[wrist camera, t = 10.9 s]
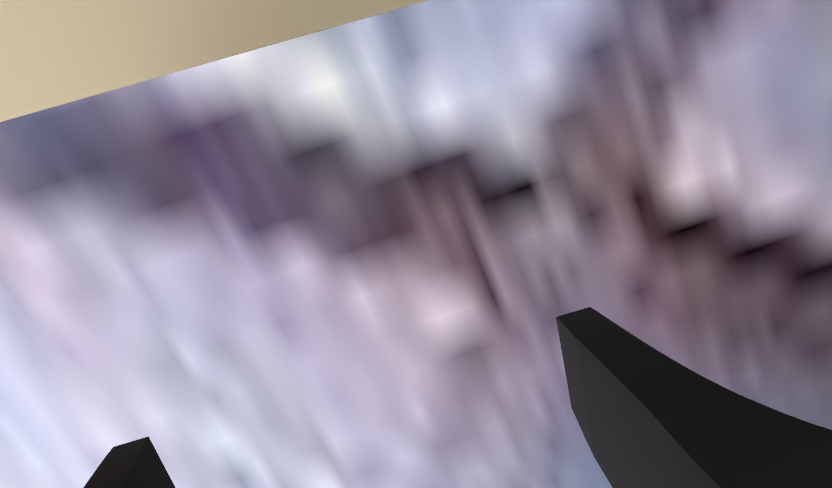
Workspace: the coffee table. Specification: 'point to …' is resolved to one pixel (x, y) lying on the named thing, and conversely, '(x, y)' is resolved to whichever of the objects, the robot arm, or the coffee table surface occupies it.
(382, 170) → the coffee table surface
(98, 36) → the carton
